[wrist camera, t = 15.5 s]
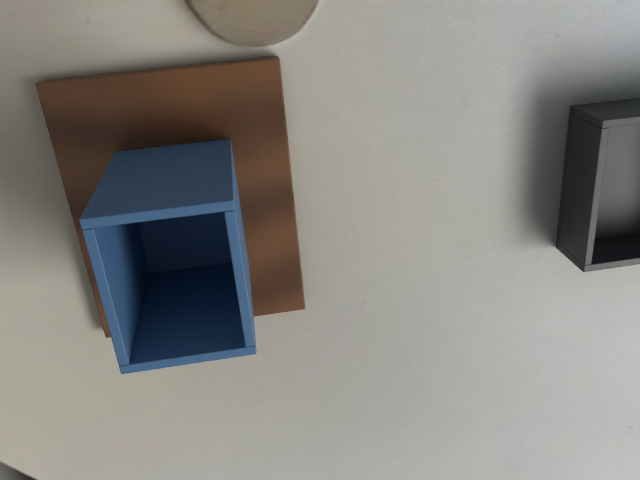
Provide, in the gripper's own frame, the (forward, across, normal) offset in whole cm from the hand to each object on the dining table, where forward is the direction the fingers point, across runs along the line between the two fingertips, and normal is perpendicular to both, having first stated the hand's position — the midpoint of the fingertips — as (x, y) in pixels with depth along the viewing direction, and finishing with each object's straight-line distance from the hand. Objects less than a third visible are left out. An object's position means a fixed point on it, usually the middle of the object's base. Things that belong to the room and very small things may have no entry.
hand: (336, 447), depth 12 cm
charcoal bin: (+35, +29, -10) cm, 46 cm away
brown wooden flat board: (+35, -6, -8) cm, 36 cm away
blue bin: (+34, -6, -8) cm, 35 cm away
